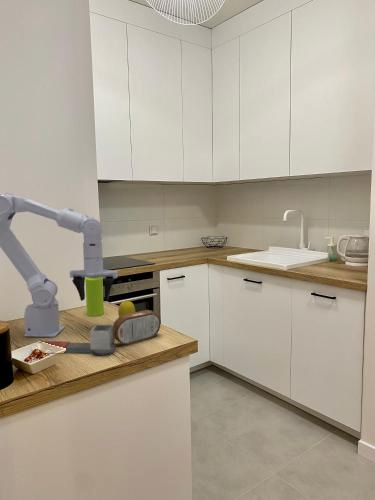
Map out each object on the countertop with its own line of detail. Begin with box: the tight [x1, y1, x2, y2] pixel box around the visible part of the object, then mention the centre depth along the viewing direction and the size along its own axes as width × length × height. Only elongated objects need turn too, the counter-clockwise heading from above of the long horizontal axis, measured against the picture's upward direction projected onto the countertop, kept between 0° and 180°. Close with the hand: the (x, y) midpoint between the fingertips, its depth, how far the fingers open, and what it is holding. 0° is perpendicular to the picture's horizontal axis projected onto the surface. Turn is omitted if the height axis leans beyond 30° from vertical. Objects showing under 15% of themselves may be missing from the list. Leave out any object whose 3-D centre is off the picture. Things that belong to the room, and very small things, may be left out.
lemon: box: [117, 299, 136, 318], centre depth 121 cm, size 6×6×8 cm
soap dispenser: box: [85, 277, 105, 317], centre depth 129 cm, size 6×7×20 cm
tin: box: [112, 309, 162, 345], centre depth 107 cm, size 15×3×8 cm, turn 126°
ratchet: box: [40, 340, 116, 357], centre depth 100 cm, size 21×6×4 cm, turn 88°
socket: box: [89, 323, 116, 350], centre depth 99 cm, size 5×5×5 cm
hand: (94, 299), depth 115 cm, fingers open, 7 cm apart
